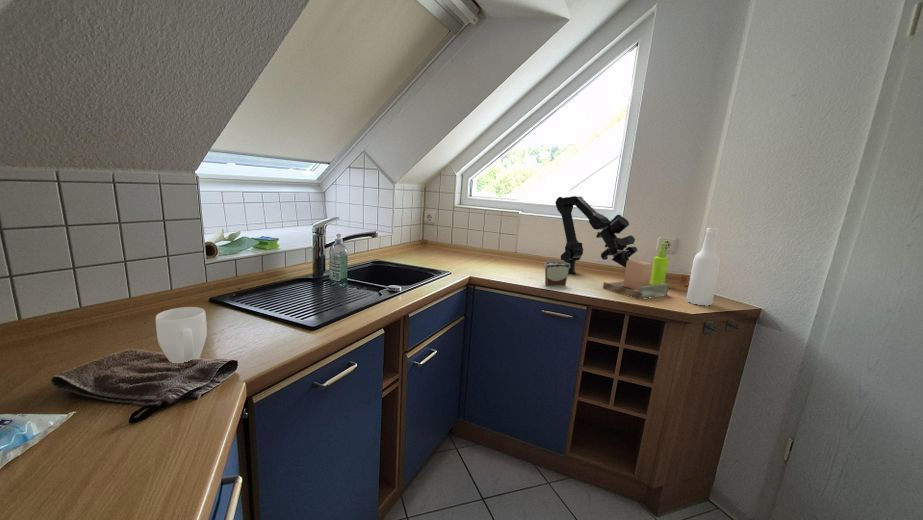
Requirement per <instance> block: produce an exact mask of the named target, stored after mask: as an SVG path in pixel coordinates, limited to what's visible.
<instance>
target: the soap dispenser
mask: <svg viewBox="0 0 923 520" xmlns="http://www.w3.org/2000/svg"><path fill="white" fill-rule="evenodd" d="M667 245H669V243H668V242H661V243H660V249H658V251H657V256H654V258H653V263H652V264H653V265H652V271H651V277H650V284H651V285H656V284H663V283H665V282H666V276H667V269H668V264H669V258H668V257H667V250H666V246H667Z"/></svg>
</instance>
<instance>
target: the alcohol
mask: <svg viewBox="0 0 923 520" xmlns="http://www.w3.org/2000/svg"><path fill="white" fill-rule="evenodd" d="M719 230H720V229H719V228H714V227H707V228H706V231H705V237H704V240H703V243H702V248H700V251H699V252H698V253H696V254H695V256H694V258H693V262H692V265H691V266H692V267H691V272H690V277H689V282H688V287H687V288H688V289H687V293H686V301H687V303H689V302H690V303H689V304H691V303H694V304H700V305H710V306H712V304H713V302H714V298H715V297H714V296H715V292H716V288H717V287H716V286H717V281H718V276H719V270H720V265H721V258H720V256H719V254H718V252H717V244H718V236H719ZM694 304H693V305H694Z"/></svg>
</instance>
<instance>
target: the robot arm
mask: <svg viewBox="0 0 923 520" xmlns="http://www.w3.org/2000/svg"><path fill="white" fill-rule="evenodd" d="M555 206H556V210H557V211H558V212H559V214H560V215H561V220H562V224H563V229H564V235H565V239H566V243H565V246H564V252H563V253H562V254H561V255H560V260H561V261H563V262H566V263H570V268H569V271H568V274H575V275H576V273H577V272H576V262H578V261H580V260H581V258H582V256H583V254H584V250H585V249H584V247H583V243H582V242H579V241H578V239H577V234H576V231H575V224H574V221H573V219H574V218H573V215H572V212H573V209H574V206H575V207H576V208H577V209H578V210H579V211H580V212H581V213H582V214H584V216H585V217H586V218H587V220H588V223H589V224H590V226H591V227H592V229H593V230H597V233H596V238H597V239H602V241H603V242H604V248H606V249H605V250H604V251H603V252H601V253H600V257H601V260H602V261H604V260H605V261H606V260H608V259H609V258H608V257H610V256H612V259H611V261H612V262H614V263H617V264H618V265H620V266H621V267H623V268H625V269H626V263H627V261H629V260H630V259H629V258H630V257H632V256H633V255H634V254H636V253H637V252H638V251H639V250H638V248H637V247H636V246H629V245H635V241H636V238H635V237H634V236H633V235H627V236H624V237H622V238H620V237H617V235H619V234H621V233H622V232H623V231H624V230H625V229H627V228H628V227H629V226H630V223H629V221H628V219H626V218H625V217H624V216H622V215H621V214H616V215H615V216H614V217H613V218H612V219H611V220H610V219H609V218H608V217H606V216H605V215H604V214H601V213H599V212H597V211H596V210H595V208H594V207H592V206H591V205H590V204H589V203H588V202H587V201H586V200H585V199H584V198H583V196H581V195H573V196H558V197H557V199H556V200H555ZM598 230H601V231H598ZM616 234H617V235H616Z"/></svg>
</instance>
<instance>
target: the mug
mask: <svg viewBox="0 0 923 520" xmlns="http://www.w3.org/2000/svg"><path fill="white" fill-rule="evenodd" d="M206 316H207V315H206V310H205V309H204V308H202V307H196V306H186V307H185V306H184V307H176V308H170V309H167V310H164V311H161V312H159V313H157V314H156V316H155V328H156V337H157V342H158V345H159V347H160V349H161V351H162V352H163V354H164V355H165V357H166V358H167V360H168V361H170V362H172V363H184V362H188V361H190V360H192V359H199V360H200V358H201V355H202V352H203V349H204V348H205V347H204V346H205V343H206V340H207V335H208V332H207V331H208V328H207V327H208V326H207V317H206ZM170 362H169V363H170Z"/></svg>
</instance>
